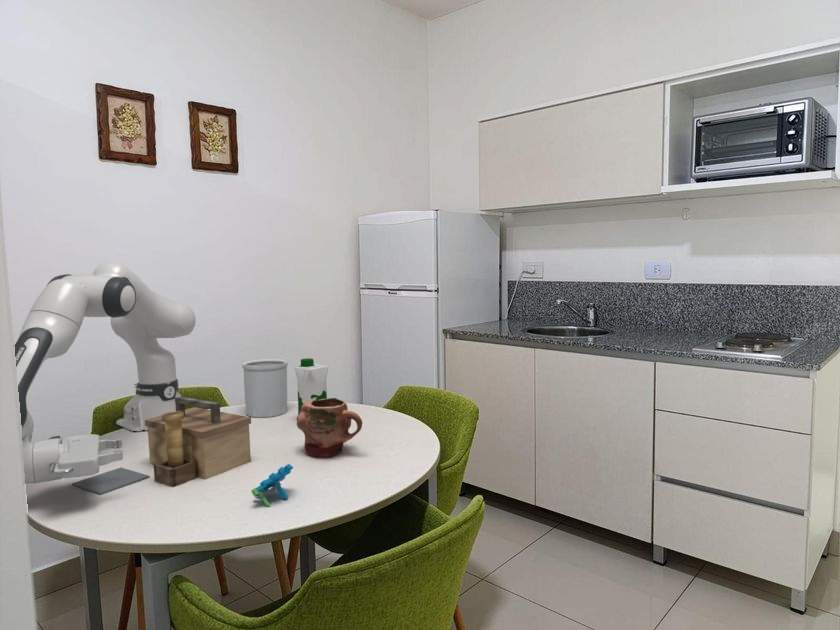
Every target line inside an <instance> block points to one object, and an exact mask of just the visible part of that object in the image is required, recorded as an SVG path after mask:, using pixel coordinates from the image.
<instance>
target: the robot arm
mask: <svg viewBox="0 0 840 630" xmlns="http://www.w3.org/2000/svg"><path fill="white" fill-rule="evenodd" d="M85 317H87V318H108V317H110V325H111V328H112V331H113V332H114V334H115V335H116V336H117V337H119V338H121V339H122V340H123V341H124V342H125V343H126V344H127V345H128V346H129V348H130V349H131V351H132V353H133V356H134V358H135V361H136V362H135V363H136V367H137V378H138V382H137V383H134V384H133V385H135V386H134V388H135V395H133V396H132V398H131V399H130V400H129V401H127V403H126V404H125V405H124V407H123V417H122V418H119V419H118V420H116V423H115V424H116V425H118V426H120V427H122V428H124V429H126V430H129V431H130V430H131V432H133V431H137V432H143V431H142V430H145V431H148V427H147V426H145V420H147V419H150V418H154V417H158V416H162V414H164V413H168V412H174V411H176V405H175V397H179V396H181V397H182V395H181V393H179V392H178V391H179V379H177V370H176V357H175V356H174V354H173V353H172V352H171V351H170V350H169V349H168V350H167V349H166V348H163V347H162V346H161V345H160V343H159V341H158V339H175V338H181V337H185V336H189V335H191V333H192V331H194V329H195V326H196V324H197V323H196V322H197V321H196V314H195V312H194V311H193V309H192V308H191V307H190V306H189V305H185V304H182V303H178V302H175V301H172V300H170V299H168V298H166V297H163V295H160V294H158V293H156V292H155V291H152V290H151V289H150V287H149V286H147V285H146V284H145V282H144V281H142V280H141V279H140V277H139V276H138V275H136V273H134V272H133V271H132V270H131V269H130V268H128V267H126V266H125V265H123V264H121V263H120V262H116V261H106V262H103V263H102V264H100V265H98V266H97V267H95V270H93V272H92V274H60V275H57V276H54V277H53V278H52V279H50V281H48V283H47V284H46V286H45V287H44V289H43V290H42V291H41V292H40V294H39V295H38V297H37V298H36V299H35V301H34V303H33V305H32V306H31V309H30V310H29V312H28V314H27V317H26V319H25V321H24V323H23V326H22V327H21V329H20V333H19V335H18V337H17V339H16V342H15V344H14V346H15V357H16V369H17V381H18V392H19V402H20V413H21V425H22V441H23V458H24V473H25V483H24V484H40V483H45V482H52V481H57V480H58V481H59V480H62V479H73V478H74V479H75V478H81V477H87V476H95V475H97V474H99V472H100V467H101V466H106V465H109V464H111V463H113V462H118V461H123V460H124V453H123V450H119V449H122V448H123V440H122V439H121V438H120V439H101V438H100V435H99V434H94V433H93V434H92V433H91V434H80V435H79V434H78V435H69V436H65V437H63V435H61V434H58V435H53V436H51V437H50V438H48V439H44V440H39V441H32V437H33V433H34V428H35V426H34V420H33V418H32V415H31V414H30V412H29V411H28V407H27V395H28V393H29V390H30V389H31V386H32V384H33V383H34V381H35V378H36V377H37V374H38V373H39V371H40V369H41V367H42V365H43V364H44V362H45V361H46V360H48V359H54V358H58V357H60V356H61V357H62V356H63V355H65V354H67V352H68V351H69V349H70V347H72V345H73V343H74V342H75V340H76V338H77V336H78V334H79V331H80V330H81V326H82V325H83V321H84V319H85ZM14 346H13V347H14ZM111 449H113V450H115V451H113V452H110V453H106V454H105V453H102V454H101V451H106V450H111ZM117 449H118V450H117Z"/></svg>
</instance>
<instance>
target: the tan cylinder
mask: <svg viewBox="0 0 840 630" xmlns="http://www.w3.org/2000/svg"><path fill="white" fill-rule="evenodd" d="M182 419H184V412H181V411H174V412H168V413H164V414H162V421H164V422H165V430H166V445H167V461H168V467H171V468H175V467H178V466H181V465H183V464H184V454H183V438H182V421H181V420H182Z"/></svg>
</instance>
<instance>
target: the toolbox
mask: <svg viewBox="0 0 840 630" xmlns="http://www.w3.org/2000/svg"><path fill="white" fill-rule="evenodd" d="M175 405H176V411H181V412H184V419H182V420H181V421H182V438H183V454H184V464H183V465H181V466H178V467H175V468H171V467H168V461H167V445H166V430H165V422H164V421H162V416H158V417H154V418H150V419H147V420H145V426H147V427H148V430H147V436H148V437H147V438H148V452H149V454H148V455H149V464H150V463H151V464H150V465H153V464H155V465H153V475H154V477H153V479H154V482H155V483H158V484H161V485H165V486H169V487H171V488H174V487H177V486H179V485H181V484H184V483H187V482H190V481H192V480H195V479H197V478H198V479H199V478H200V479H205V480H207V479H209V478H212V477H214V476H217V475H219V474H223V473H224V472H227V471H230V470H232V469H235V468H237V467H241V466H243V465H245V464H247V462H248V463H250V462H252V460H251V459H252V456H251V440H250V439H251V437H250V425H251V424H252V417H250V416H247V415H242V414H241V415H239V414H236V413H228V412H223V411H221V403H220V402H214V401H209V400H204V399H197V398H192V397H186V396H182V395H181V396H179V397H175ZM185 405H189V406H193V407H189V408H186V406H185ZM242 464H243V465H242Z"/></svg>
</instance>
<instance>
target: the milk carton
mask: <svg viewBox="0 0 840 630" xmlns="http://www.w3.org/2000/svg"><path fill="white" fill-rule="evenodd" d="M314 362H315V361H314V359H313V358H309V357H308V358H302V359H300V365H298V366H295V367H294V371H295V378H296V385H297V408H298V410H297V411H298V412H297V416H298V415H299V414H300V410H301V406H302V405H303V404H304V403H306V402H308V401H311V400H321V399H328V392H327V391H328V390H327V386H328V385H327V378H328V377H327V376H328V371H329V366H328V365H324V364H320V363H314Z"/></svg>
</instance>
